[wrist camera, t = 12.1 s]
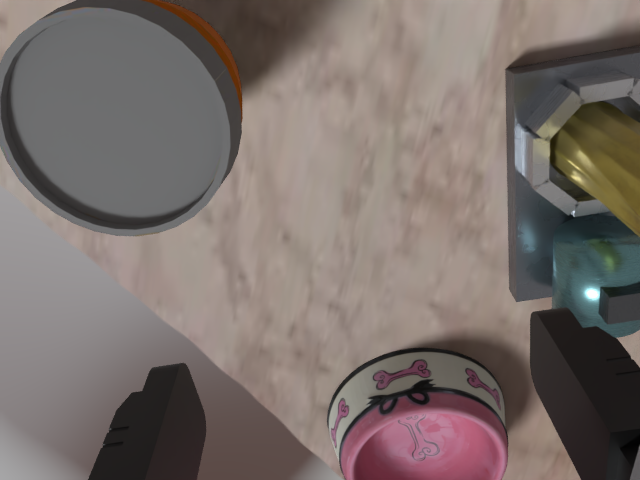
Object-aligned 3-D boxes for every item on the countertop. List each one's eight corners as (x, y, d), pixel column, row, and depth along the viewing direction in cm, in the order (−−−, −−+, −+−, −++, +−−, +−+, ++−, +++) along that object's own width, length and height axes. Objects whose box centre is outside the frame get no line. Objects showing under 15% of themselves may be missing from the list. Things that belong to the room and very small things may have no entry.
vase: (531, 136, 43) (624, 217, 30) (605, 83, 41) (736, 146, 28) (570, 192, 45) (671, 290, 32) (641, 145, 43) (777, 228, 31)
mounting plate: (505, 69, 42) (557, 102, 34) (655, 42, 42) (749, 70, 33) (509, 289, 52) (551, 362, 43) (631, 271, 51) (700, 340, 42)
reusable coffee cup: (65, 102, 43) (-44, 174, 30) (126, -57, 38) (29, -57, 25) (214, 180, 46) (176, 275, 33) (289, 41, 41) (279, 88, 28)
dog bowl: (485, 325, 54) (508, 373, 48) (516, 454, 62) (539, 510, 56) (303, 374, 56) (302, 426, 50) (356, 492, 65) (361, 549, 59)
